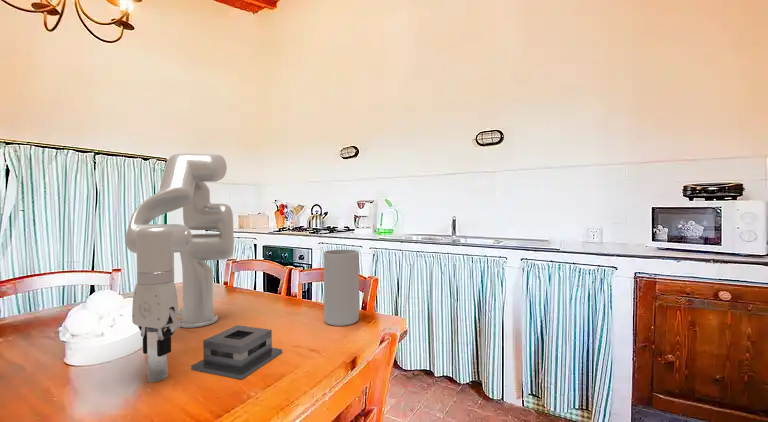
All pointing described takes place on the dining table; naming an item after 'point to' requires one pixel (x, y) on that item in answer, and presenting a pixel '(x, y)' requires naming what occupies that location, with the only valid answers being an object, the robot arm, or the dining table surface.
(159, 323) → the robot arm
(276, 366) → the dining table surface
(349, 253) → the cylinder vase
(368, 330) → the dining table surface
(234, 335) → the collar stand
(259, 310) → the dining table surface
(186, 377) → the dining table surface
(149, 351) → the tube
